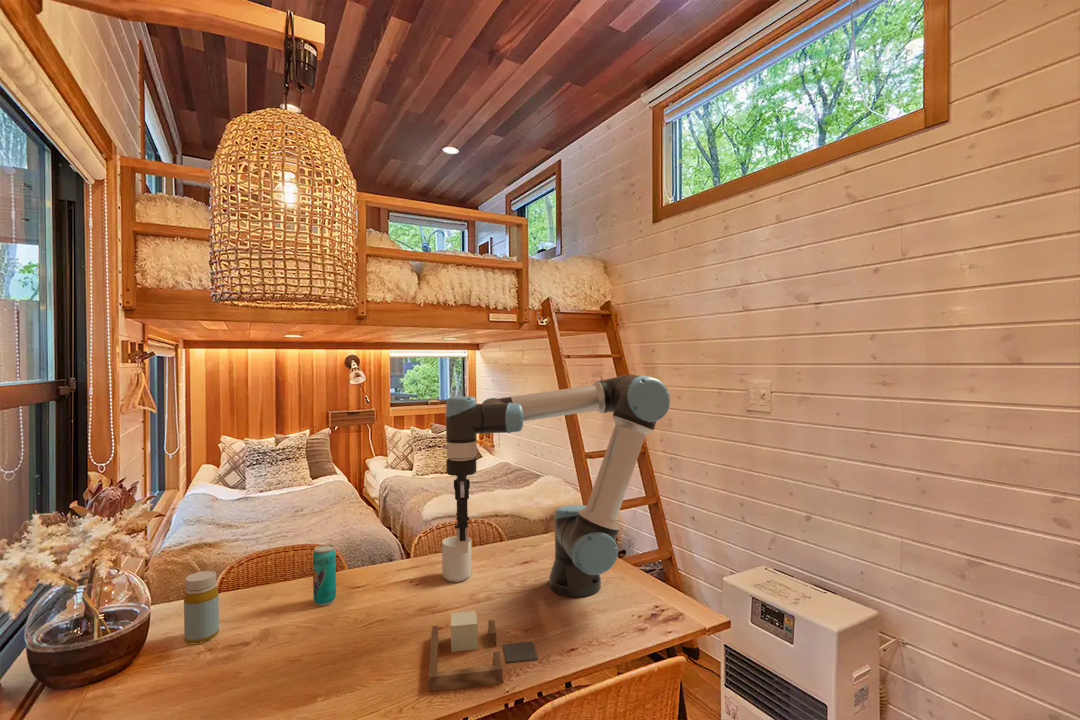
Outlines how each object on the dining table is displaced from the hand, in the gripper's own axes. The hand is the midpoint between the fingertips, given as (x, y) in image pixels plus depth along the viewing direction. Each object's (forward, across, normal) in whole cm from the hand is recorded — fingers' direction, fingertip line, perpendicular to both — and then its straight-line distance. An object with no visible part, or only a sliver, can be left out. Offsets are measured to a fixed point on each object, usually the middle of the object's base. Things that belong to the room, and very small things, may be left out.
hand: (462, 549), depth 131 cm
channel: (+19, +16, 0) cm, 24 cm away
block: (+19, +10, 0) cm, 21 cm away
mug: (+19, -29, -1) cm, 35 cm away
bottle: (+19, -5, -62) cm, 65 cm away
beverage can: (+19, -18, -37) cm, 45 cm away
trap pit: (+19, +16, +12) cm, 27 cm away
